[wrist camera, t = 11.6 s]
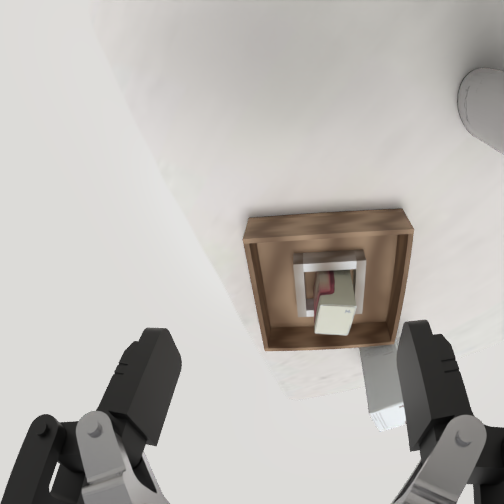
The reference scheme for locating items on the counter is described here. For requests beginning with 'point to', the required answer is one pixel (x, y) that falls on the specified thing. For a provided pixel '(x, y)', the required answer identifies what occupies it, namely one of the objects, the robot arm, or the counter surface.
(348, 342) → the crate
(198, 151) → the counter surface
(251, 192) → the counter surface
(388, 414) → the skincare box
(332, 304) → the small box
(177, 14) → the counter surface
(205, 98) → the counter surface
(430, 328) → the robot arm
